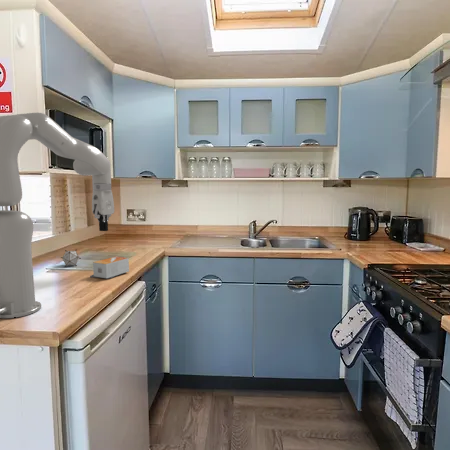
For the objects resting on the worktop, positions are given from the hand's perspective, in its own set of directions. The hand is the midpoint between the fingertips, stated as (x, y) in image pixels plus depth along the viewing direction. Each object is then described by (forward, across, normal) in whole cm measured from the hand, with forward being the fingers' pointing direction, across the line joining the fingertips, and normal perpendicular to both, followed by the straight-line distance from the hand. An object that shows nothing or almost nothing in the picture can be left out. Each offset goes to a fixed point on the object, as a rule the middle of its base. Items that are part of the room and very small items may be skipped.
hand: (103, 230), depth 144 cm
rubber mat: (+20, +2, 0) cm, 20 cm away
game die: (+20, +13, +27) cm, 36 cm away
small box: (+16, -6, -1) cm, 17 cm away
